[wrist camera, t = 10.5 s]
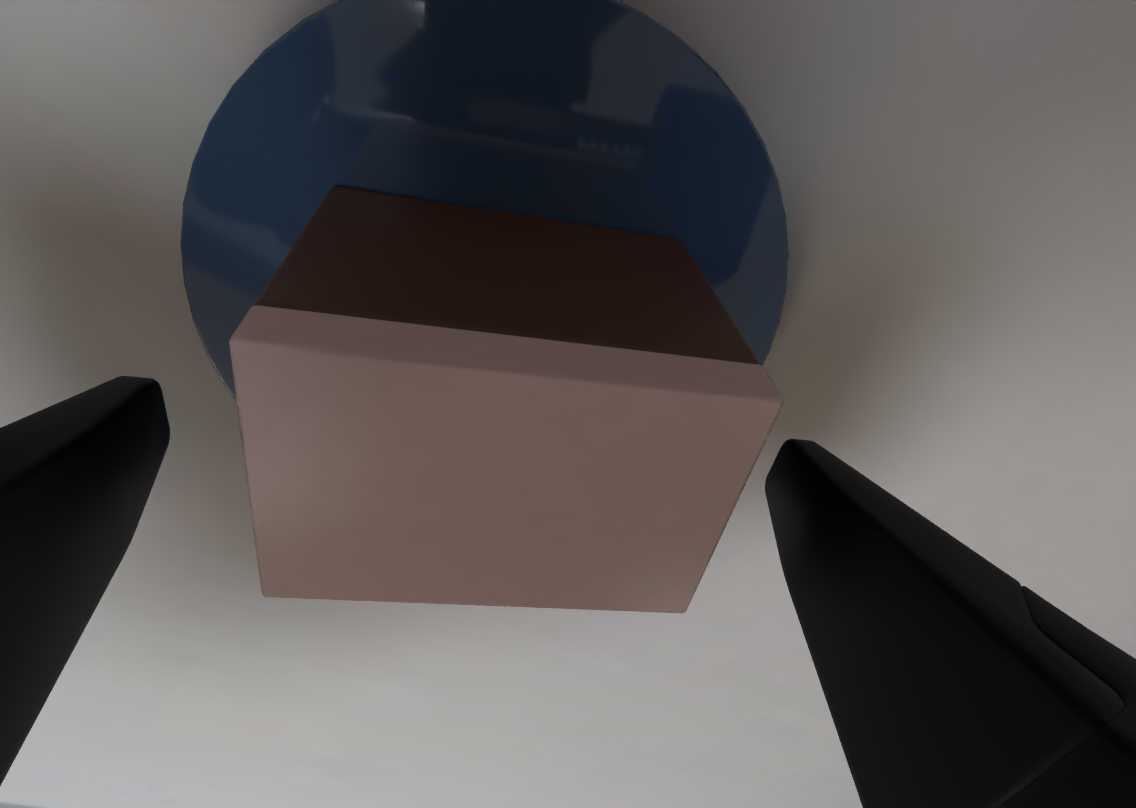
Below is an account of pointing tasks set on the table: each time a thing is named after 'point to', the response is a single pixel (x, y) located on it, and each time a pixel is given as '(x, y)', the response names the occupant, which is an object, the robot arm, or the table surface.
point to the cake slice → (491, 411)
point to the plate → (483, 143)
